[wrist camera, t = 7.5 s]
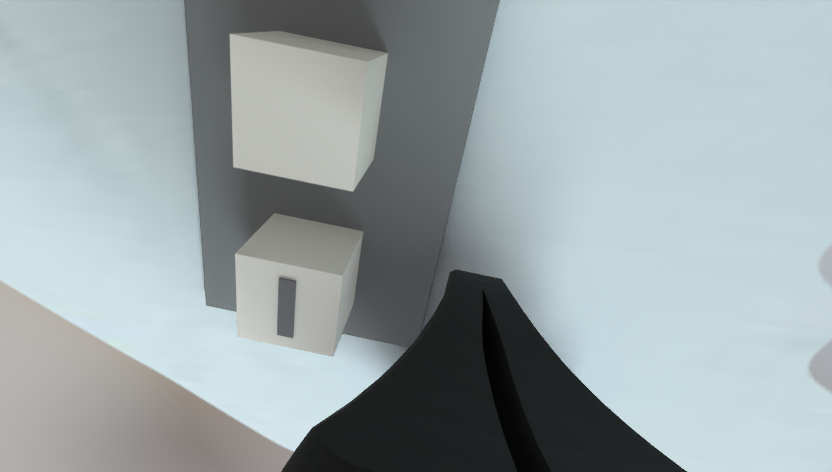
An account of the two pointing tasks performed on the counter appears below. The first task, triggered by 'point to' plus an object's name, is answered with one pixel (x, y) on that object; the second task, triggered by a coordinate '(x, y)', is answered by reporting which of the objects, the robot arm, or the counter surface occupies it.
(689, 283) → the counter surface
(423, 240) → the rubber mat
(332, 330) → the one bar block
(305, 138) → the plain block
